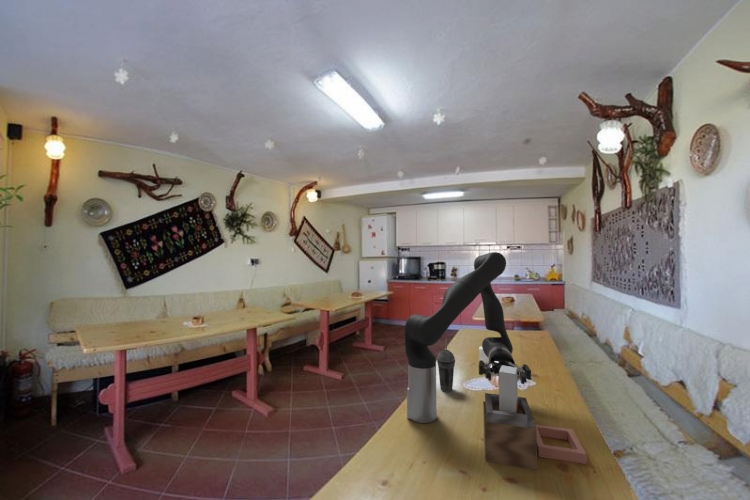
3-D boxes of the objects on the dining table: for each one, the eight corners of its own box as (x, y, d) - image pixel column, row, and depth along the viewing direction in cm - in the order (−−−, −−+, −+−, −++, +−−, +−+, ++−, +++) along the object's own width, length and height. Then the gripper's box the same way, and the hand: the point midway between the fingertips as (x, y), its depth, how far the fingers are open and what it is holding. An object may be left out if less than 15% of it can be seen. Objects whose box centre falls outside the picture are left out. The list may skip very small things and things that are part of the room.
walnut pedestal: (485, 460, 80) (485, 411, 81) (483, 435, 92) (483, 392, 92) (537, 470, 77) (536, 418, 77) (528, 442, 88) (527, 397, 88)
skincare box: (516, 420, 81) (515, 374, 81) (499, 416, 83) (498, 371, 83) (518, 410, 86) (517, 367, 86) (501, 407, 88) (501, 364, 89)
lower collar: (538, 456, 82) (538, 446, 82) (530, 432, 93) (530, 423, 93) (586, 464, 79) (586, 454, 79) (572, 438, 90) (571, 429, 90)
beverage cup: (435, 391, 122) (434, 340, 123) (438, 384, 129) (438, 336, 129) (454, 394, 119) (453, 342, 120) (456, 387, 126) (456, 337, 127)
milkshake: (491, 367, 149) (491, 346, 149) (479, 366, 150) (479, 345, 150) (489, 364, 154) (489, 343, 154) (478, 363, 155) (478, 343, 155)
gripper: (477, 347, 104) (479, 362, 88) (524, 350, 99) (534, 367, 84) (478, 369, 103) (479, 389, 88) (525, 374, 99) (535, 395, 84)
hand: (506, 378), depth 86 cm, fingers open, 8 cm apart
